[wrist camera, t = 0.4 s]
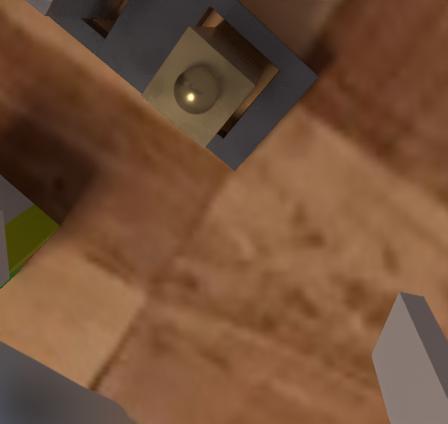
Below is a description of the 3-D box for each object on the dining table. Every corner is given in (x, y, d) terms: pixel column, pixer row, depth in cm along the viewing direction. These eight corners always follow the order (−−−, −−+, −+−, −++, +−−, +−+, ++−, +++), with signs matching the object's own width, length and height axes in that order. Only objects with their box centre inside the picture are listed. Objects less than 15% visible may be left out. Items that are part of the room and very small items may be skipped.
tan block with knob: (179, 77, 33) (138, 97, 24) (215, 27, 31) (186, 26, 22) (224, 116, 34) (202, 150, 25) (263, 69, 32) (255, 86, 23)
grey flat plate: (8, -28, 32) (-9, -32, 30) (66, -159, 28) (51, -172, 26) (237, 163, 36) (234, 170, 34) (316, 74, 32) (318, 76, 30)
